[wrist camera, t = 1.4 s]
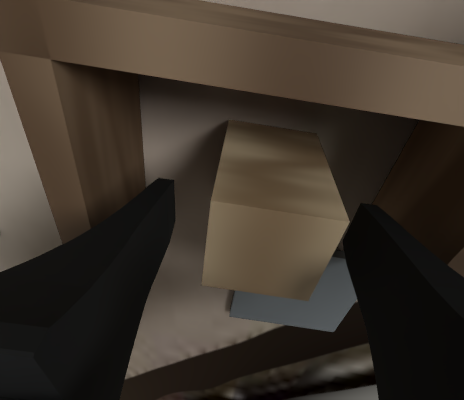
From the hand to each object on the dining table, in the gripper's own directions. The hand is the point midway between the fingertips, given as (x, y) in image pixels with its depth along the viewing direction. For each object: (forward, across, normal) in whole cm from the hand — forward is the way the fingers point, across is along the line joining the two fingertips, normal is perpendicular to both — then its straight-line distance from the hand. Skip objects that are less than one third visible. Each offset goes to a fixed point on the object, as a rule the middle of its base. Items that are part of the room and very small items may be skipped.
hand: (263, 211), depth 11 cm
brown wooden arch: (+3, 0, -1) cm, 4 cm away
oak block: (+4, 0, 0) cm, 4 cm away
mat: (+4, -4, +9) cm, 10 cm away
